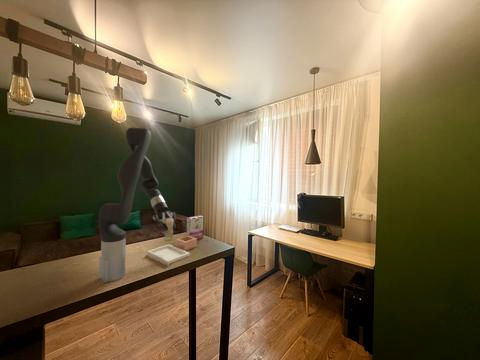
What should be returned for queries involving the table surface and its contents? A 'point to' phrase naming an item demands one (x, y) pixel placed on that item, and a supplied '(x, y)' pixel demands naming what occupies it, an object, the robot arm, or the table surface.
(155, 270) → the table surface
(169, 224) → the birch dowel
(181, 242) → the pink square box
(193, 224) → the candy bar box
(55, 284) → the table surface
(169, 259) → the tray
